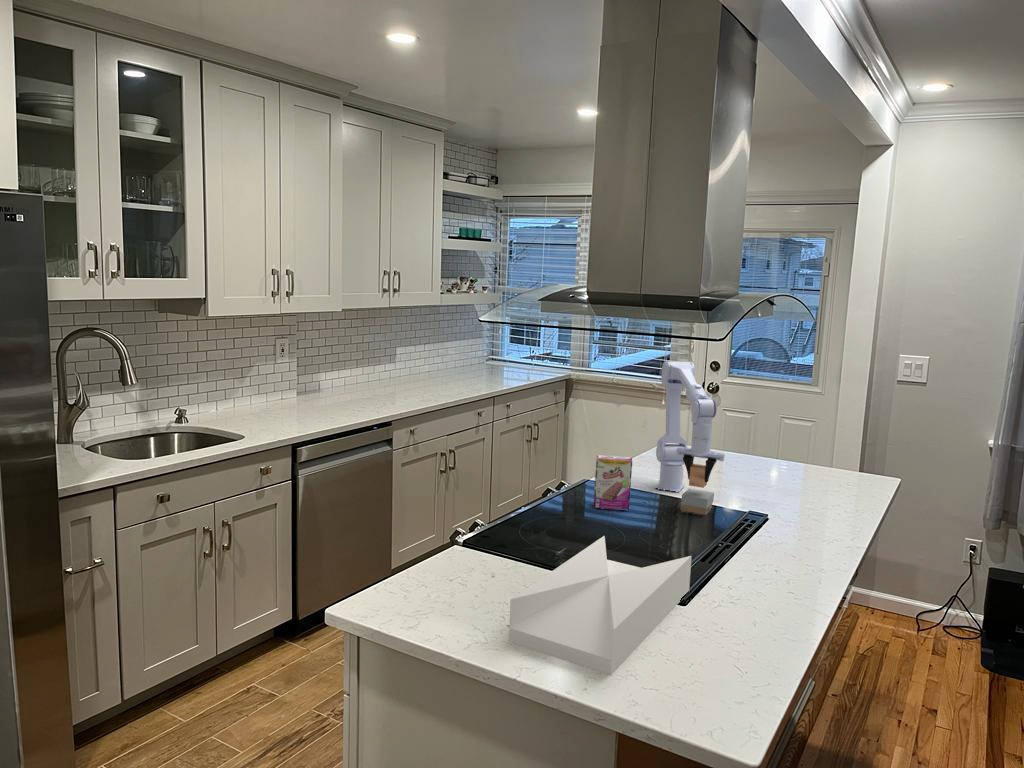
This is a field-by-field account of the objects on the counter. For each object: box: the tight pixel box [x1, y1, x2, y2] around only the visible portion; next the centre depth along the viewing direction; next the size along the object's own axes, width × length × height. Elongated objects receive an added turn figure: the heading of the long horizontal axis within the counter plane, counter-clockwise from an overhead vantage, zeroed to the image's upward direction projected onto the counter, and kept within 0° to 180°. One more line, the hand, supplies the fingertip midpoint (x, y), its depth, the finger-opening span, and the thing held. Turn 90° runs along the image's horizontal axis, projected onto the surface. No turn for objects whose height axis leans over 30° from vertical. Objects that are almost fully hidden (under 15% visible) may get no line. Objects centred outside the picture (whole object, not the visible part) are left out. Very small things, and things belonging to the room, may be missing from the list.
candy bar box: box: [593, 454, 633, 511], centre depth 241 cm, size 11×5×16 cm, turn 84°
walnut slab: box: [679, 503, 713, 515], centre depth 243 cm, size 8×8×3 cm
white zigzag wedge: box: [508, 535, 692, 676], centre depth 167 cm, size 45×22×10 cm, turn 149°
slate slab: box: [680, 488, 715, 509], centre depth 242 cm, size 8×8×3 cm
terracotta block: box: [688, 463, 708, 489], centre depth 241 cm, size 4×4×6 cm
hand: (698, 480), depth 241 cm, fingers closed on terracotta block, 4 cm apart
